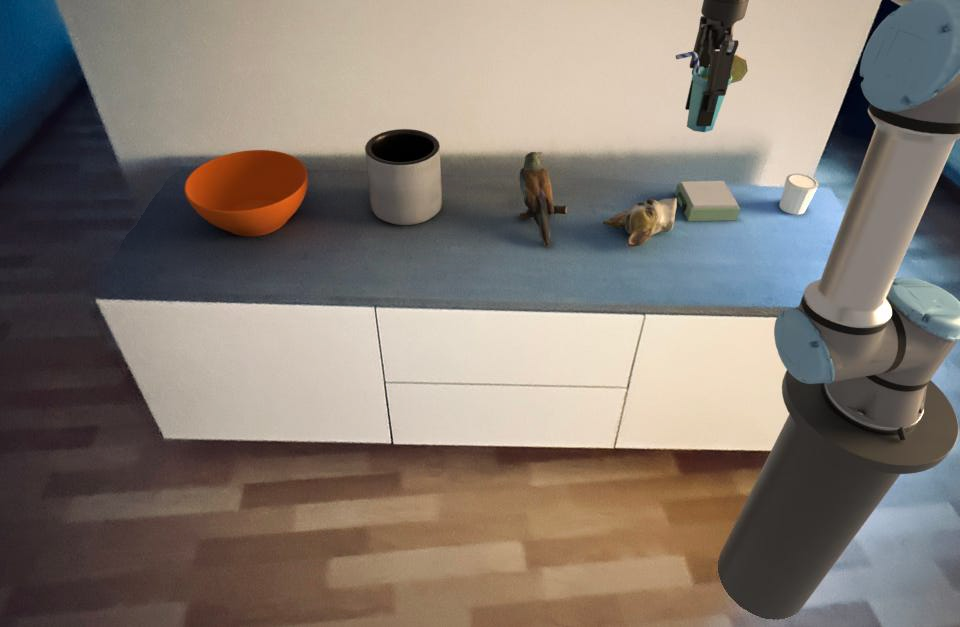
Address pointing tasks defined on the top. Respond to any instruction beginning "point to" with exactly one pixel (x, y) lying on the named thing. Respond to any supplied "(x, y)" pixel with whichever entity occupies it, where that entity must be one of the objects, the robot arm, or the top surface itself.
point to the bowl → (248, 191)
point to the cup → (701, 86)
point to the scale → (706, 201)
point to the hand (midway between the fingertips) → (697, 116)
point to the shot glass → (797, 193)
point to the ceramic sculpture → (645, 220)
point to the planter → (404, 176)
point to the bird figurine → (538, 195)
